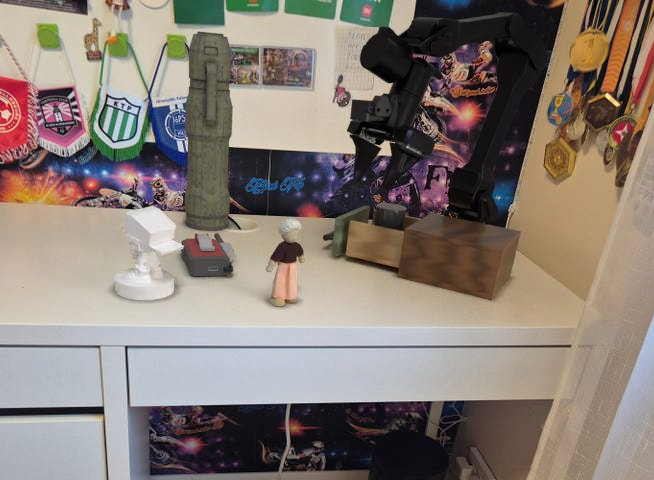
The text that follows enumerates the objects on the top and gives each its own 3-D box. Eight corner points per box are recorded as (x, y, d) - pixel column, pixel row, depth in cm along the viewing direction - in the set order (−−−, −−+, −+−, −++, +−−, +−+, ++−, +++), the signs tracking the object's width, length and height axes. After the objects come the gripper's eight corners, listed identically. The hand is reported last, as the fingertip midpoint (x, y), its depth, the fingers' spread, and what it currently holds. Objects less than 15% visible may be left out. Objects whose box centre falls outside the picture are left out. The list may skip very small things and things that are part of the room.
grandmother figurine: (281, 311, 93) (288, 225, 87) (259, 304, 95) (265, 219, 89) (308, 297, 99) (316, 216, 93) (288, 290, 101) (294, 210, 95)
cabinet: (397, 276, 111) (404, 228, 108) (423, 257, 123) (431, 213, 119) (491, 300, 105) (503, 249, 101) (510, 277, 117) (521, 231, 113)
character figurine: (144, 275, 101) (142, 199, 96) (191, 290, 97) (192, 212, 92) (102, 290, 94) (97, 209, 89) (151, 306, 90) (149, 223, 85)
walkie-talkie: (244, 278, 104) (221, 241, 121) (246, 252, 102) (222, 218, 119) (190, 279, 101) (174, 242, 118) (190, 252, 99) (174, 218, 116)
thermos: (190, 233, 124) (191, 31, 108) (180, 216, 134) (180, 29, 118) (234, 232, 127) (242, 35, 111) (222, 216, 137) (227, 34, 121)
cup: (377, 243, 122) (383, 201, 118) (403, 249, 120) (410, 206, 116) (366, 250, 117) (372, 206, 114) (393, 256, 115) (400, 212, 112)
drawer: (312, 250, 118) (316, 213, 115) (343, 235, 129) (347, 201, 126) (411, 274, 111) (418, 235, 108) (434, 256, 121) (441, 220, 118)
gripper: (341, 72, 111) (307, 159, 114) (403, 76, 96) (362, 176, 100) (388, 99, 117) (355, 181, 121) (453, 106, 102) (413, 200, 106)
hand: (369, 184), depth 111 cm, fingers open, 9 cm apart
